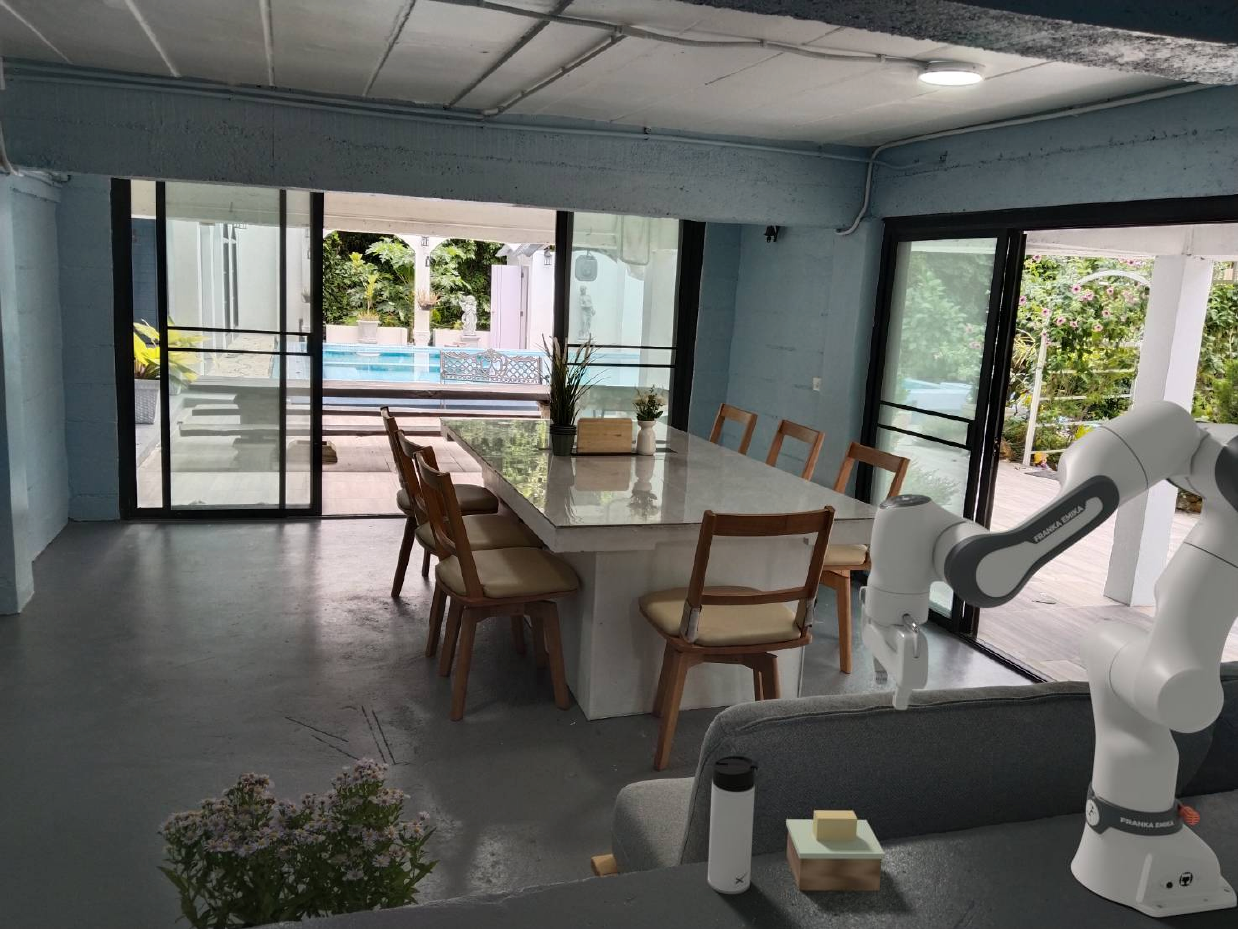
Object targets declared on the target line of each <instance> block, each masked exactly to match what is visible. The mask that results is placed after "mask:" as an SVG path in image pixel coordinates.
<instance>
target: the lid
mask: <svg viewBox="0 0 1238 929" xmlns="http://www.w3.org/2000/svg"><path fill="white" fill-rule="evenodd" d="M785 824H786V828H787V831H788V830H789V833H790V835H791V838H792V840H793V843H794V846H795V848H796V851H797V853H798V856H799V858H821V859H882V860H884V859H885V856H886V854H885V852H884V850H883V848H882V846H881V844H880V842H879V840H878V839H877V837H876V835H875V833H874V831H873V829H872V828H871V826H870V824H869V823H868V820H867V819H858V818H857V815H856V814H855V812H854V810H822V809H821V810H820V809H819V810H815V809H814V810H813V819H792V818H791V819H788V818H786V821H785Z"/></svg>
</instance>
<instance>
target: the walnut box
mask: <svg viewBox="0 0 1238 929" xmlns="http://www.w3.org/2000/svg"><path fill="white" fill-rule="evenodd" d="M786 858H787V861H788V865H789V866H790V869H791V872H792V875H793V877H794V880H795V882H796V886H797V888H798V891H880V889H881V888H880V886H881V873H882V860H883V859H821V858H799V856H798V853H797V851H796V848H795V846H794V843H793V840H792V838H791V835H790V833H789V830H788V829H787V843H786Z"/></svg>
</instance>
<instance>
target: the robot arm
mask: <svg viewBox="0 0 1238 929" xmlns="http://www.w3.org/2000/svg"><path fill="white" fill-rule="evenodd" d="M1056 470H1057V471H1056V472H1057V479H1058V484H1059V485H1060V489H1059V491H1058V493H1057V494H1056V496H1055V497H1053V499H1052V500H1050V501H1049V502H1048V503H1046V504H1045V505H1043V506H1042V507H1040V508H1039V509H1038V510H1036V511H1034V513H1031V514H1030V515H1029V516H1027V517H1026V518H1025V519H1023V520H1022V521H1019V523H1017V524H1016V525H1015V526H1013V527H1011V528H1009V529H1005V530H999V531H991V530H989V529H987V528H986V527H984V525H981V524H979V523H978V522H976V521H974V520H972V519H968V518H966V517H963V516H961V515H960V516H959V515H957V514H955V513H953V512H951V511H950V510H947V509H946V508H944V507H943V506H941V505H940V504H938V503H936V502H935V501H934V500H933V499H932V498H931V497H930V496H927V495H924V494H912V493H911V494H910V493H905V494H900V495H899V494H898V495H894V496H890V497H889V498H886V499H884V500H883V501H882V502H881V503H880V504H879V505H878V507H877V509H876V511H875V514H874V520H873V524H872V530H871V536H870V546H869V547H870V548H869V558H870V561H871V563H870V564H871V568H870V573H869V574H868V575H869V576H868V577H867V584H866V586H860V588H859V601H860V602H861V603H862V604H861V617H860V618H861V619H860V620H861V621H860V622H861V623H860V624H861V626H860V627H861V628H860V630H861V639H862V642H863V645H865V647H866V648H867V649H868V651H870V653H871V660H872V661H871V663H872V669H873V676H872V680H873V681H874V682H875V683H876V685H887V684H888V677H889V676H891V678H892V679H893V680H894V681H895V683H894V684H895V687H896V689H895V693H893V694H892V701H891V703H892V705H893V707H894V708H895V710H898V711H906V710H907V709H908V708H909V707H908V706H909V698H910V696H911V694H912V693H913V690H924V689H925V687H927V683H928V678H929V677H928V676H929V673H928V672H929V642H928V638H927V636H926V635H925V633H923V631H922V630H921V625H922V624H925V623H926V622H927V621H928V617H929V609H930V608H929V606H930V596H931V595H930V594H931V586H932V584H933V583H935V582H942V583H945V584H946V585H947V586H949V588H950V589H951V590H952V591H953V592H954V593H955V595H957V597H958V598H959V599H960V600H962V601H963V602H964V603H966V604H967V605H970V606H972V607H976V608H979V609H980V608H981V609H993V608H998V607H1001V606H1003V605H1005V604H1007V603H1009V602H1010V601H1012V600H1013V599H1014V598H1016V597H1017V596H1018V595H1019V593H1021V592H1022V590H1023V589H1025V588H1024V587H1025V586H1026V585H1027V584H1028V582H1029V581H1030V580H1031V579H1032V577H1033V576H1035V574H1036V573H1037V572H1038V571H1039V570H1041V568H1043V567H1044V566H1046V565H1047V564H1048V563H1049V562H1051V561H1052V560H1054V559H1055V558H1057V557H1058V556H1060V554H1063V553H1064V552H1065V551H1066V550H1068V549H1069V548H1071V547H1072V546H1074V545H1076V544H1077V543H1078V542H1080V541H1081V540H1082V539H1083V538H1085V537H1086V536H1087V535H1089V534H1090V533H1092V532H1093V531H1095V530H1096V529H1097V528H1099V527H1100V526H1101V525H1102V524H1104V523H1105V522H1106V521H1107V520H1108V519H1109V518H1111V516H1112V515H1113V514H1114V513H1115V512H1116V510H1118V509H1119V508H1121V507H1123V505H1125V504H1126V503H1128V502H1129V501H1132V499H1135V498H1136V497H1138V496H1139V495H1141V494H1142V493H1144V492H1147V491H1148V490H1149V489H1151V488H1153V487H1154V486H1155V485H1157V484H1159V483H1160V482H1161V481H1166V482H1167V483H1168V484H1170V485H1171V486H1173V487H1175V488H1177V489H1179V490H1182V491H1187V492H1189V493H1191V494H1193V495H1196V496H1199V497H1201V500H1202V504H1201V511H1200V515H1199V518H1198V520H1197V522H1196V523H1195V524H1194V526H1193V527H1192V528H1191V529H1190V531H1189V532H1188V534H1187V535H1186V537H1184V539H1183V541H1182V542H1181V544H1180V545H1179V547H1178V548H1177V549H1176V552H1174V554H1173V556H1171V559H1170V560H1169V561H1168V563H1167V565H1166V567H1165V568H1164V569H1163V571H1162V573H1161V574H1160V575H1159V577H1158V579H1157V580H1156V581H1155V584H1154V587H1153V594H1154V598H1155V611H1154V612H1155V613H1154V617H1153V621H1152V624H1151V627H1150V629H1149V630H1147V629H1145V628H1143V627H1141V626H1140V625H1136V624H1135V623H1134V624H1133V623H1129V622H1125V621H1121V620H1116V619H1108V620H1107V619H1105V620H1102V621H1099V622H1097V623H1095V624H1093V625H1091V626H1090V627H1089V628H1088V629H1087V630H1086V632H1085V633H1084V634H1083V636H1082V638H1081V640H1080V643H1079V646H1078V647H1079V650H1078V651H1079V658H1080V661H1081V663H1082V665H1083V668H1084V669H1085V673H1086V676H1087V679H1088V685H1089V690H1090V698H1091V704H1092V712H1093V718H1094V726H1095V728H1094V730H1095V746H1094V747H1095V748H1094V751H1095V752H1094V759H1093V760H1094V761H1093V768H1092V769H1093V770H1092V780H1091V781H1090V782H1089V784H1088V790H1087V795H1086V802H1085V803H1086V804H1085V825H1084V828H1083V833H1082V836H1081V841H1080V844H1079V847H1078V848H1077V851H1076V854H1075V856H1074V858H1073V859H1072V862H1071V864H1070V869H1071V872H1072V874H1073V875H1074V876H1073V877H1075V879H1076V880H1077V881H1078V882H1079V883H1081V885H1083V886H1084V887H1086V888H1087V889H1089V890H1090V891H1092V892H1093V893H1095V894H1097V895H1099V896H1101V897H1103V898H1104V899H1105V898H1106V899H1108V900H1110V901H1113V902H1115V903H1116V902H1117V903H1119V904H1121V905H1122V904H1123V905H1126V906H1128V907H1132V908H1133V909H1136V910H1138V911H1140V912H1141V913H1143V914H1145V915H1148V916H1149V917H1153V918H1154V917H1155V918H1163V917H1164V918H1165V917H1171V916H1176V915H1184V914H1192V913H1200V912H1207V911H1214V910H1220V909H1228V908H1234V907H1237V906H1238V905H1237V902H1238V900H1237V894H1236V892H1235V890H1234V888H1232V886H1231V885H1230V883H1229V882H1228V881H1227V880H1226V879H1225V877H1223V876H1222V875H1221V867H1220V862H1219V860H1218V858H1217V855H1216V853H1215V852H1214V850H1212V848H1211V847H1210V846H1209V845H1208V844H1207V843H1206V842H1205V841H1204V840H1203V839H1202V838H1201V837H1199V836H1198V835H1197V834H1196V833H1195V832H1194V831H1192V830H1191V829H1190V828H1189V827H1188V826H1186V824H1184V823H1183V820H1182V819H1184V821H1185V822H1186V823H1188V824H1189V825H1192V826H1193V825H1196V824H1198V822H1200V819H1201V817H1200V814H1199V813H1198V812H1196V811H1195V810H1194V809H1193V808H1192V807H1190V806H1186V805H1185V806H1184V805H1183V803H1182V802H1181V801H1180V800H1179V799H1177V798H1176V797H1175V794H1176V787H1177V777H1178V770H1179V762H1180V758H1179V757H1180V755H1179V750H1178V747H1177V744H1176V742H1175V740H1174V738H1173V736H1172V732H1171V731H1174V732H1179V733H1182V734H1183V733H1184V734H1192V733H1197V732H1200V731H1203V730H1204V729H1206V728H1207V727H1209V726H1210V725H1211V724H1213V723H1214V722H1215V721H1216V720H1217V718H1218V717H1219V715H1220V714H1221V712H1222V709H1223V707H1224V702H1225V697H1224V689H1223V686H1222V683H1221V677H1220V674H1221V670H1220V669H1221V663H1222V658H1223V653H1224V649H1225V646H1226V641H1227V638H1228V636H1229V633H1230V631H1231V629H1232V627H1233V625H1234V623H1235V621H1236V620H1237V618H1238V424H1236V423H1235V424H1234V423H1216V422H1207V421H1203V420H1195V418H1194V417H1193V416H1192V415H1191V413H1190V412H1189V411H1188V410H1186V409H1185V408H1184V407H1182V406H1181V405H1180V404H1177V403H1176V402H1173V401H1169V400H1156V401H1152V402H1149V403H1146V404H1144V405H1141V406H1138V407H1135V408H1133V409H1130V410H1128V411H1125V412H1124V413H1121V414H1120V415H1118V416H1115V417H1114V418H1111V419H1110V420H1107V421H1106V422H1103V423H1102V424H1100V425H1099V426H1097V427H1095V428H1093V429H1092V430H1090V431H1088V432H1087V433H1085V434H1083V435H1082V436H1081V437H1079V438H1078V439H1077V440H1075V441H1073V443H1071V445H1069V446H1068V447H1067V448H1066V449H1065V450H1064V451H1063V452H1062V453H1061V455H1060V457H1059V461H1058V464H1057V469H1056Z"/></svg>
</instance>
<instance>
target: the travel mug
mask: <svg viewBox="0 0 1238 929" xmlns="http://www.w3.org/2000/svg"><path fill="white" fill-rule="evenodd" d="M758 762H759V761H758V760H754V759H752V758H750V757H748V756H742V755H728V756H724V757H720V758H719V759H717V760H716V761H715V762H714V764H713V766H712V779H711V796H710V797H711V798H710V816H709V817H710V818H709V819H710V820H709V821H710V823H709V838H708V839H709V841H708V842H709V843H708V863H707V864H708V865H707V884H708V885H709V887H710V888H711V889H713V890H714V891H716V892H718V893H720V894H721V893H722V894H726V895H737V894H741V893H743V892H746V891H747V890H748V889H750V885H751V884H750V883H751V867H752V866H751V863H752V845H753V826H754V825H753V824H754V810H755V809H754V808H755V807H754V806H755V790H756V788H755V787H756V782H755V778H756V773H755V771H758V770H759V763H758Z"/></svg>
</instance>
